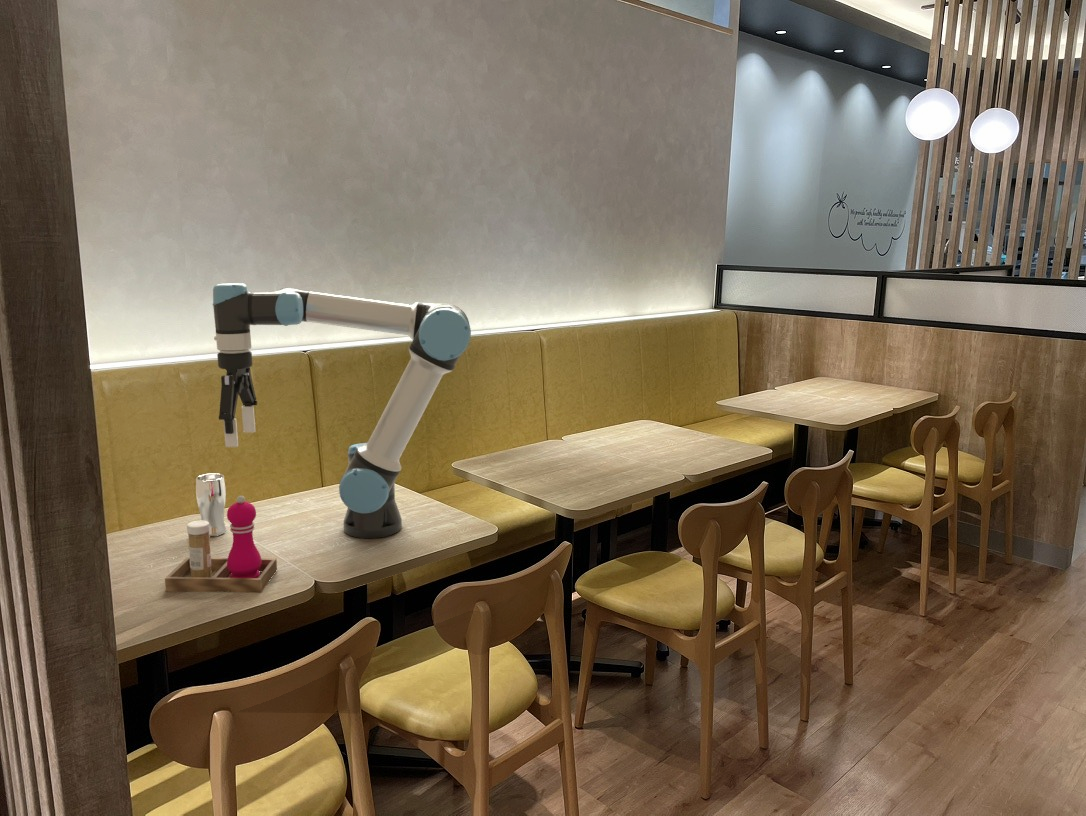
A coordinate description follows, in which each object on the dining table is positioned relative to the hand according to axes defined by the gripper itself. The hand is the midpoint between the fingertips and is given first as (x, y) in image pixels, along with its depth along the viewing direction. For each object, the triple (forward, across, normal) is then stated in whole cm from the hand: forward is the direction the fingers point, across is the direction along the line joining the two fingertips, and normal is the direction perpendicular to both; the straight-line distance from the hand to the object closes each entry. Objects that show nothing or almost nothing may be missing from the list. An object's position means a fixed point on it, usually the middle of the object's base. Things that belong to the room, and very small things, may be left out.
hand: (241, 439), depth 193 cm
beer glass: (+28, -11, -12) cm, 32 cm away
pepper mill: (+28, +18, +4) cm, 34 cm away
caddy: (+28, +18, 0) cm, 33 cm away
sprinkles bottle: (+28, +18, -5) cm, 34 cm away
